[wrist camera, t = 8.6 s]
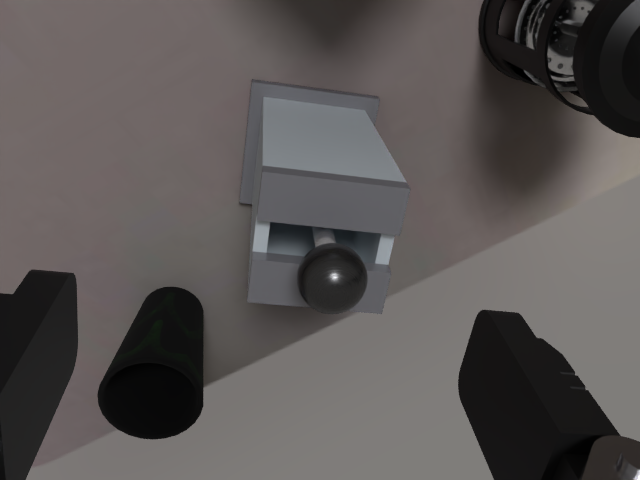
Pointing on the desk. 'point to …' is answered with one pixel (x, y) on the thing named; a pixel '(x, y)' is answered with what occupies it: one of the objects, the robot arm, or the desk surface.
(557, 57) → the french press
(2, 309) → the robot arm
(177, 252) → the desk surface
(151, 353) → the cup
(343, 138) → the slotted square pillar
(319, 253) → the plunger
